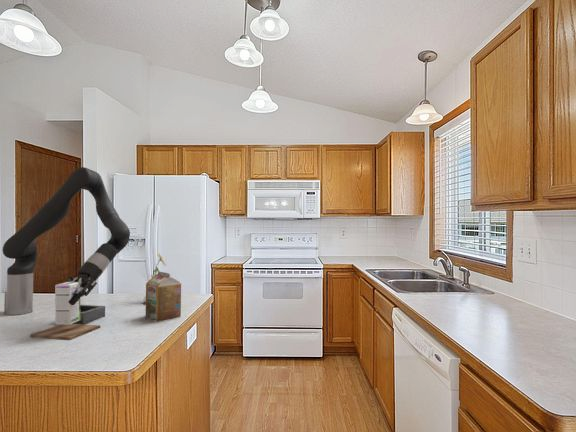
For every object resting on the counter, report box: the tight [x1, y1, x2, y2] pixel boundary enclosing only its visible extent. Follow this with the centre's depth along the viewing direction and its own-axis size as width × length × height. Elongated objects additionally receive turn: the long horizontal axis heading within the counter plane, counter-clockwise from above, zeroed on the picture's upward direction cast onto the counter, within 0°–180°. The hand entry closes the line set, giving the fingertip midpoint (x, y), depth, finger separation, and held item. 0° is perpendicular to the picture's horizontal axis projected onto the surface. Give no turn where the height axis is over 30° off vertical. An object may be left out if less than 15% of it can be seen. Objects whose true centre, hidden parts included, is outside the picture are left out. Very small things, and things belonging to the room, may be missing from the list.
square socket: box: [73, 304, 106, 325], centre depth 140 cm, size 12×12×4 cm
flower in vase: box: [142, 252, 167, 303], centre depth 173 cm, size 13×11×25 cm
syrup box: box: [54, 281, 81, 326], centre depth 125 cm, size 6×6×14 cm
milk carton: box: [145, 270, 182, 323], centre depth 146 cm, size 10×11×19 cm
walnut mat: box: [30, 324, 101, 341], centre depth 124 cm, size 16×14×1 cm
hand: (63, 302), depth 123 cm, fingers closed on syrup box, 7 cm apart
